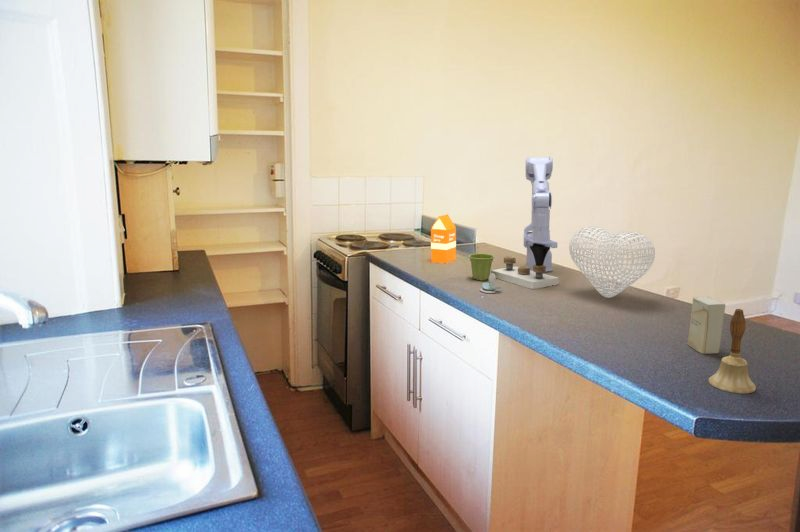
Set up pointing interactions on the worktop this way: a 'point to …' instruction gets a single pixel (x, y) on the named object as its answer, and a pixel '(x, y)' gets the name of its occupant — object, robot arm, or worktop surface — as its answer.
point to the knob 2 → (539, 271)
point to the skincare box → (706, 325)
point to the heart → (605, 242)
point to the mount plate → (525, 278)
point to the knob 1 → (509, 262)
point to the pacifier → (491, 284)
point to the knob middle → (523, 270)
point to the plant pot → (481, 265)
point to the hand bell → (734, 362)
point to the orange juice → (443, 240)
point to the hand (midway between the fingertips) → (539, 265)
